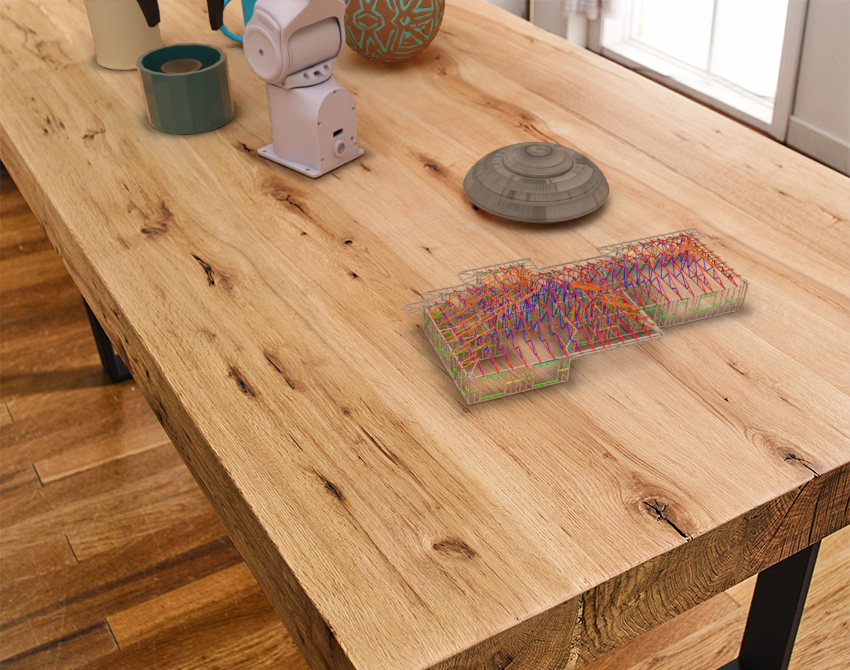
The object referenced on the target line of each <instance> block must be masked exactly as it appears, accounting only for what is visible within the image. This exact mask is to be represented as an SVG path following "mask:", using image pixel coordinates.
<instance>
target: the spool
mask: <svg viewBox="0 0 850 670" xmlns="http://www.w3.org/2000/svg"><path fill="white" fill-rule="evenodd" d="M202 69H203V66H202V63H201V62H200V61H197V60H194V59H177V60H172V61H169V62H167V63H165V64H163V65H162V66H161V73H167V74H173V73H187V72H193V71H198V70H202Z"/></svg>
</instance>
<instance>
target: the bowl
mask: <svg viewBox="0 0 850 670" xmlns="http://www.w3.org/2000/svg"><path fill="white" fill-rule="evenodd" d="M177 59H194V60H197V61H200V62H201V63H202V66H203V69H202V70H198V71H193V72H187V73H173V74H167V73H161V66H162V65H163V64H165V63H167V62H169V61H172V60H177ZM136 66H137V69H136V70H137V75H138V79H139V85H140V88H141V94H142V98H143V103H144V108H145V113H146V117H147V118H148V123H149V124H150V126H151V127H152V128H153V129H155V130H157V131H159V132H162V133H165V134H170V135H171V134H172V135H195V134H202V133H207V132H211V131H215V130H217V129H220V128H222V127H224V126H225V125H227V124H229V123H230V122H231V121H232V120H233V118H234V117H235V105H234V104H235V102H234V96H233V90H232V83H231V76H230V70H229V69H230V68H229V64H228V57H227V53H226V52H225V51H224V50H223V49H222V48H220V47H218V46H215V45H212V44H208V43H200V42H184V43H183V42H182V43H173V44H166V45H163V46H161V47H158V48H155V49H152V50H149V51H147V52H146V53H144V54H143V55H141V56H140V57H139V58H138V60H137V62H136Z"/></svg>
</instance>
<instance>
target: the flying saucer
mask: <svg viewBox="0 0 850 670" xmlns="http://www.w3.org/2000/svg"><path fill="white" fill-rule="evenodd" d="M462 188H463V192H464V194H465V195H466V197H467V198H468V200H470V202H471V203H472V204H473V205H475V206H476V207H478V208H480V209H481V210H483V211H484V212H486V213H489V214H490V215H493V216H496V217H498V218H501V219H506V220H510V221H514V222H521V223H530V224H552V223H553V224H554V223H561V222H567V221H571V220H576V219H578V218H581V217H584V216H586V215H587V216H588V215H589V214H591V213H593V212H594V211H596V210H597V209H599V208H600V207H602V205H603V204H604V203H605V202H606V201H607V200H608V197H609V195H610V185H609V181H608V180H607V178H606V176H605V174H604V173H603V171H602V170H601V169H600V168H599V166H598V165H597V164H596V163H595V162H594V161H593V160H592V159H590V158H589V157H587V156H586V155H584V153H583V154H582V153H581V152H579V151H577V150H574V149H572V148H570V147H567V146H564V145H561V144H558V143H552V142H551V143H550V142H544V141H526V142H524V141H523V142H518V143H513V144H508V145H505V146H503V147H500V148H497V149H494V150H492V151H490V152H488V153H486V154H485V155H484V156H482V157H481V158H479V159H478V160H477V161H476V162H475V163H474V164H473V165H472V166H471V167H470V169H469V170H468V171H467V173H466V175H465V176H464V178H463V182H462Z"/></svg>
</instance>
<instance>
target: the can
mask: <svg viewBox="0 0 850 670" xmlns="http://www.w3.org/2000/svg"><path fill="white" fill-rule="evenodd" d="M83 3H84V7H85V10H86V15H87V20H88V23H89V28H90V32H91V35H92V36H91V37H92V40H93V45H94V47H95V48H94V49H95V54H96V63H97V64H98V65H99V66H101V67H103V68H106V69H109V70H114V71H130V70H131V71H132V70H133V71H134V70H137V66H136V62H137V60H138V58H139V57H140V56H141V55H143V54H144V53H146V52H147V51H149V50H152V49H155V48H158V47H161V46H164V44H163V39H162V33H161V28H160V23H158V24H157V25H156V26H155V27H149V26H148V24H147V22H146V19H145V17H144V15H143V12H142V10H141V8H140V6H139V4H138V2H137V0H83Z"/></svg>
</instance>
